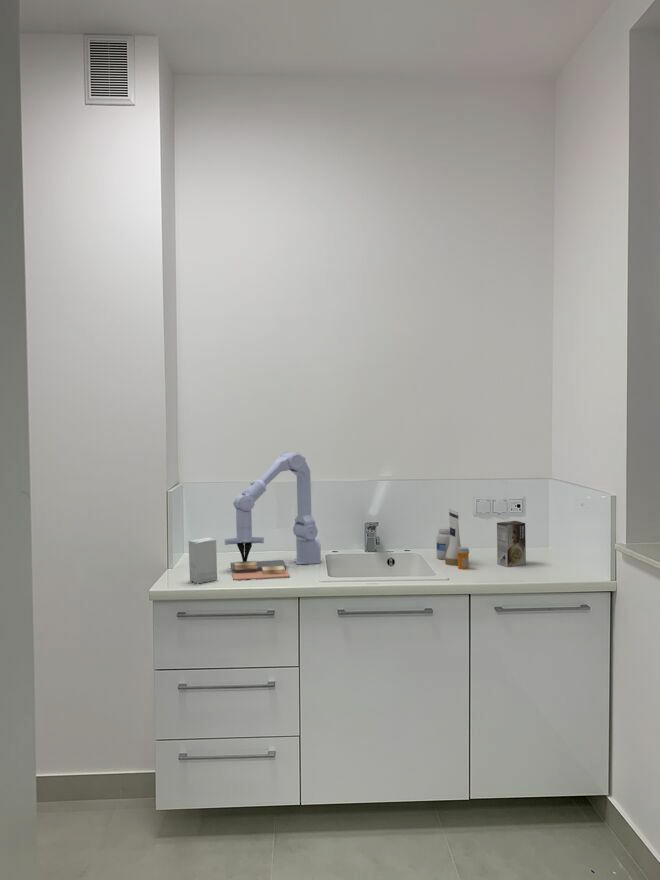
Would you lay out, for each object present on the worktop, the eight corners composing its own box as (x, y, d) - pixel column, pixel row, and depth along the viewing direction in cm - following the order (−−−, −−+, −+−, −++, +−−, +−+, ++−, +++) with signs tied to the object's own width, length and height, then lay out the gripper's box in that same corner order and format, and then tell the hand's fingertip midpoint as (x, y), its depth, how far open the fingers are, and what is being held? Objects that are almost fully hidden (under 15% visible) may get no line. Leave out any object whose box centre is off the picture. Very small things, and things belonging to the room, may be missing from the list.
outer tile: (256, 565, 263) (255, 560, 263) (257, 568, 257) (257, 564, 257) (234, 566, 261) (234, 561, 261) (235, 569, 256) (235, 565, 256)
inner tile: (283, 570, 260) (283, 565, 260) (285, 573, 255) (285, 569, 255) (261, 571, 259) (261, 567, 259) (263, 574, 253) (263, 570, 253)
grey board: (282, 565, 272) (282, 559, 272) (286, 571, 261) (286, 565, 261) (230, 567, 268) (230, 562, 268) (232, 574, 257) (232, 568, 257)
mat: (286, 571, 261) (286, 569, 261) (290, 577, 251) (289, 575, 251) (232, 574, 257) (232, 572, 257) (233, 580, 247) (233, 579, 247)
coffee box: (515, 561, 273) (515, 520, 273) (526, 564, 267) (526, 522, 267) (496, 564, 269) (496, 522, 269) (507, 567, 263) (507, 524, 263)
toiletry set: (433, 556, 284) (433, 506, 283) (451, 556, 286) (451, 505, 285) (455, 570, 260) (455, 515, 259) (475, 569, 261) (474, 514, 260)
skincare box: (209, 577, 253) (208, 536, 252) (218, 580, 248) (217, 538, 247) (188, 581, 247) (187, 539, 247) (196, 584, 243) (196, 541, 242)
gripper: (224, 529, 258) (225, 566, 258) (264, 527, 260) (265, 564, 261) (224, 526, 265) (224, 562, 265) (262, 524, 267) (263, 560, 268)
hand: (244, 562), depth 263 cm, fingers closed, pressing on outer tile
